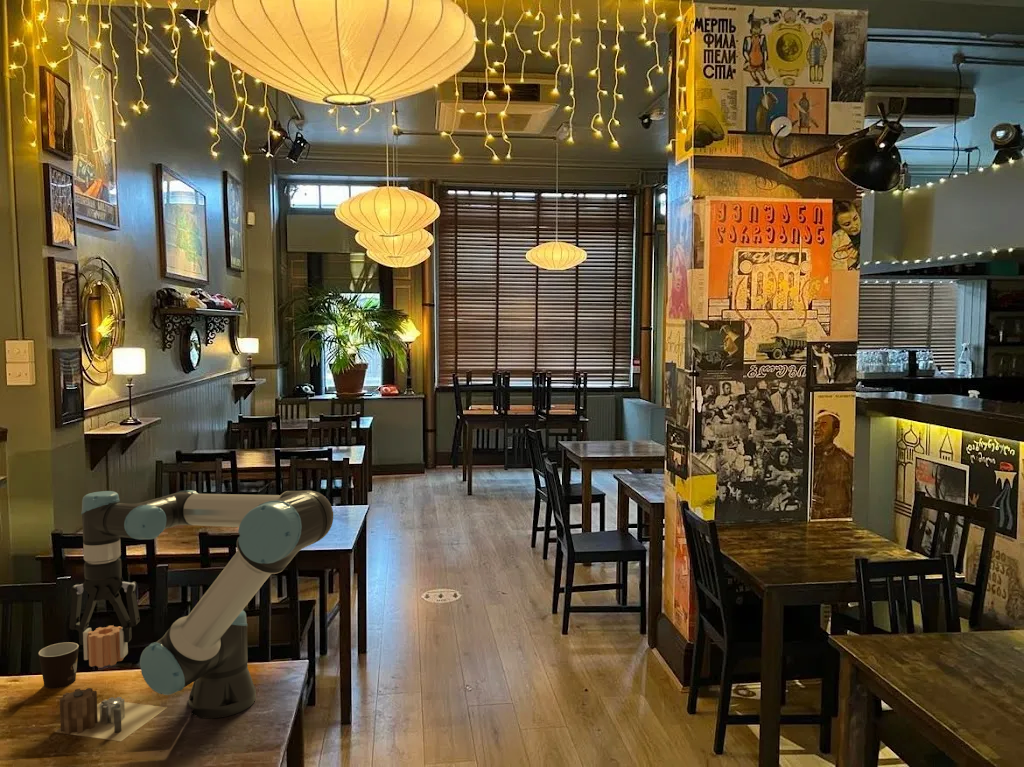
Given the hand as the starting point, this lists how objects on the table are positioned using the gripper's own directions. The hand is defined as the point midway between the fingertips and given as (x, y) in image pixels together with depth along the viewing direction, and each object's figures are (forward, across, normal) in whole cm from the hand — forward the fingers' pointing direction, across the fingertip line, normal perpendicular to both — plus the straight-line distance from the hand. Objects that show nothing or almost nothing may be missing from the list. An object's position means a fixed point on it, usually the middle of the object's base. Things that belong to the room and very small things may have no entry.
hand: (106, 656), depth 175 cm
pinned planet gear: (+12, +3, +8) cm, 15 cm away
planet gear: (+1, 0, 0) cm, 1 cm away
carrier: (+14, -3, +5) cm, 15 cm away
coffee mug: (+14, +16, -17) cm, 28 cm away
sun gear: (+12, -3, +5) cm, 14 cm away
